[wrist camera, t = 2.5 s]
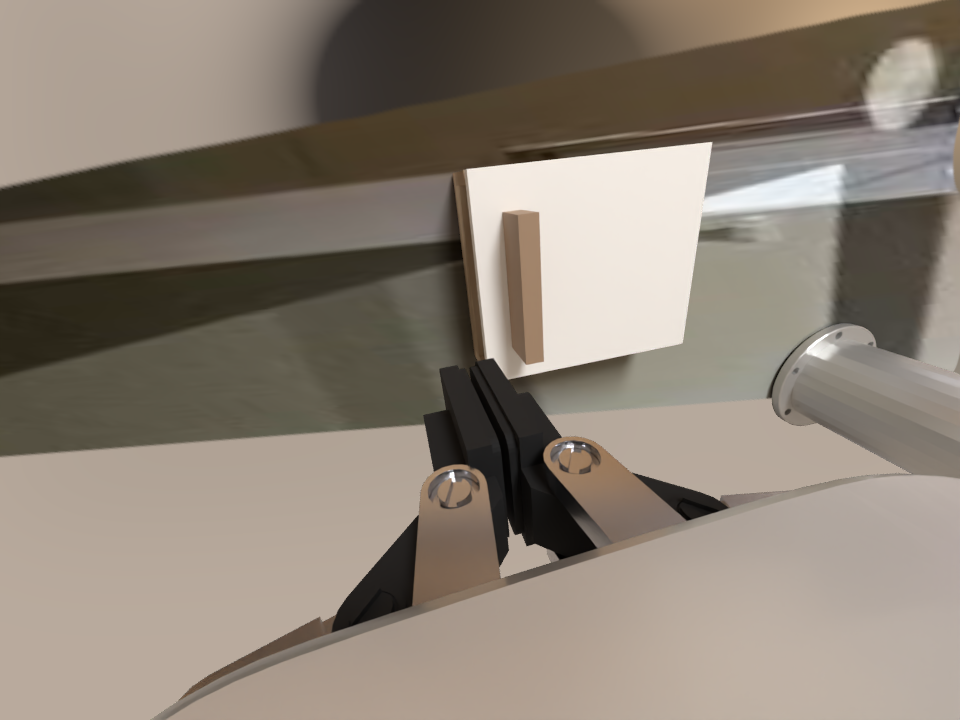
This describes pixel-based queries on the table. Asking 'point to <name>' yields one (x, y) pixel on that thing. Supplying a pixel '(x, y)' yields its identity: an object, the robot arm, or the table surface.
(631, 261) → the sliding lid
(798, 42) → the table surface
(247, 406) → the table surface
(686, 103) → the table surface
